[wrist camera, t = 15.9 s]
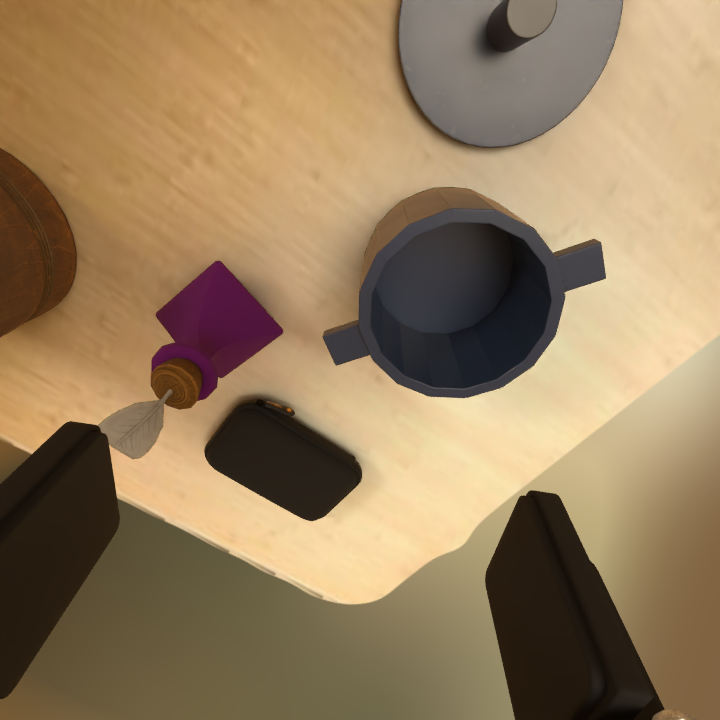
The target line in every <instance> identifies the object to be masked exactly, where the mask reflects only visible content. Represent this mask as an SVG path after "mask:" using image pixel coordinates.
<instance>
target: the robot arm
mask: <svg viewBox="0 0 720 720" xmlns="http://www.w3.org/2000/svg"><path fill="white" fill-rule="evenodd" d="M119 520H120V516H119V509H118V502H117V496H116V489H115V482H114V476H113V469H112V463H111V456H110V449H109V443H108V437H107V435H106V434H105V433H102V432H101V429H100V427H99V426H97V425H92V424H85V423H79V422H72V421H70V422H67V423H65V424H64V425H63V426H62V427H60V428H59V429H58V430H57V431H56V432H55V433H54V434H53V435H52V436H51V437H50V438H49V439H48V440H47V441H46V442H45V443H44V444H42V445H41V446H40V447H39V448H38V449H37V450H36V451H35V452H34V453H33V454H32V455H31V456H30V457H29V458H28V459H27V460H26V461H25V462H23V463H22V464H21V465H20V466H19V467H18V468H17V469H16V470H15V471H14V472H13V473H12V474H11V475H10V476H9V477H8V478H7V479H5V481H3V482H2V483H1V484H0V699H4V698H5V697H7V696H8V695H9V694H10V693H11V692H12V691H13V689H14V688H15V687H16V685H17V684H18V682H19V681H20V679H21V677H22V676H23V674H24V673H25V671H26V670H27V668H28V667H29V665H30V664H31V662H32V661H33V659H34V657H35V656H36V654H37V653H38V651H39V650H40V648H41V647H42V645H43V644H44V642H45V641H46V639H47V638H48V636H49V635H50V633H51V631H52V630H53V628H54V627H55V625H56V624H57V622H58V621H59V619H60V618H61V616H62V615H63V613H64V612H65V610H66V608H67V607H68V605H69V604H70V602H71V601H72V599H73V598H74V596H75V595H76V593H77V591H78V590H79V589H80V587H81V585H82V584H83V582H84V581H85V579H86V578H87V576H88V575H89V573H90V572H91V570H92V569H93V567H94V565H95V564H96V562H97V561H98V559H99V558H100V556H101V555H102V553H103V551H104V550H105V549H106V547H107V546H108V544H109V542H110V541H111V539H112V537H113V536H114V535H115V533H116V531H117V529H118V525H119ZM485 582H486V590H487V594H488V599H489V603H490V608H491V612H492V617H493V621H494V626H495V630H496V634H497V640H498V644H499V649H500V653H501V658H502V662H503V667H504V671H505V676H506V680H507V685H508V689H509V694H510V698H511V703H512V707H513V712H514V716H515V720H697V719H695V718H694V717H692V716H691V715H688V714H685V713H682V712H680V711H677V710H664V707H663V705H662V703H661V701H660V699H659V697H658V695H657V693H656V691H655V689H654V687H653V684H652V683H651V680H650V678H649V676H648V674H647V672H646V670H645V668H644V666H643V664H642V661H641V660H640V657H639V655H638V653H637V651H636V649H635V647H634V645H633V643H632V641H631V639H630V637H629V635H628V632H627V630H626V628H625V626H624V624H623V622H622V620H621V618H620V616H619V614H618V611H617V609H616V607H615V605H614V603H613V601H612V599H611V597H610V595H609V593H608V591H607V588H606V586H605V584H604V582H603V580H602V578H601V576H600V574H599V572H598V570H597V569H596V567H595V565H594V564H593V563H592V562H591V561H590V560H589V558H588V556H587V554H586V552H585V549H584V547H583V545H582V543H581V541H580V539H579V537H578V535H577V533H576V531H575V528H574V526H573V524H572V522H571V520H570V518H569V515H568V513H567V511H566V509H565V507H564V505H563V503H562V501H561V499H560V497H559V496H558V495H556V494H553V493H546V492H540V491H529V492H528V493H527V495H526V496H520V497H519V499H518V501H517V503H516V505H515V508H514V510H513V512H512V514H511V517H510V519H509V522H508V524H507V526H506V528H505V530H504V533H503V535H502V537H501V539H500V541H499V544H498V546H497V548H496V550H495V553H494V555H493V557H492V560H491V561H490V564H489V566H488V568H487V571H486V577H485Z"/></svg>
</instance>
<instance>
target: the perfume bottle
mask: <svg viewBox="0 0 720 720" xmlns="http://www.w3.org/2000/svg"><path fill="white" fill-rule="evenodd" d="M156 317H157V319H158V320H159V321H160V322H161V324H162V325H163V326H164V328H165V329H166V330H167V331H168V333H169V334H170V335H171V337H172V338H173V339H174V341H175V343H171V344H168V345H164V346H162V347H161V348H160V349H159V350H158V352H157V353H156V354H155V355H154V356H153V358H152V371H151V387H152V389H153V390H154V392H155V394H156V396H157V397H158V398H159V399H160V400H156V401H148V402H139V403H135V404H132V405H130V406H128V407H126V408H123V409H121V410H119V411H117V412H115V413H114V414H112V415H110V416H109V417H107V418H106V419H105V420H103V421H102V422H101V423H100V424H99V425H98V426H99V427H100V429H101V432H102V433H105V434H106V435H107V437H108V443H109V445H110V446H111V447H113V448H115V449H116V450H118V451H120V452H121V453H123V454H125V455H126V456H128V457H130V458H131V459H138V458H141V457H142V456H143V455H145V454H146V453H147V452H148V451H149V450H150V449H151V447H152V446H153V445H154V443H155V442H156V440H157V438H158V436H159V433H160V431H161V429H162V427H163V414H164V403H165V404H166V405H167V406H170V407H173V408H176V409H179V410H180V409H187V408H191V407H192V406H193V405H194V404H195V403H196V402H197V401H199V400H203V399H206V398H207V397H208V396H209V395H210V394H211V393H212V392H213V391H214V390H215V389H216V388H217V382H218V377H219V378H223V377H224V376H226V375H227V374H229V373H230V372H231V371H233V370H234V369H235V368H237V367H238V366H239V365H241V364H242V363H243V362H245V361H246V360H248V359H249V358H250V357H252V356H253V355H254V354H256V353H257V352H258V351H260V350H261V349H262V348H264V347H265V346H267V345H268V344H269V343H271V342H272V341H273V340H275V339H276V338H277V337H279V336H280V335H282V334H283V329H282V328H281V327H280V326H279V325H278V323H277V322H276V321H275V320H274V319H273V318H272V317H271V316H270V315H269V314H268V313H267V311H266V310H265V309H264V308H263V307H262V306H261V305H260V304H259V303H258V302H257V300H256V299H255V298H254V297H253V296H252V295H251V294H250V293H249V292H248V291H247V290H246V288H245V287H244V286H243V285H242V284H241V283H240V282H239V281H238V280H237V279H236V278H235V276H234V275H233V274H232V273H231V272H230V271H229V270H228V269H227V268H226V267H225V265H224V264H223V263H222V262H220V261H215V262H214V263H213V264H212V265H211V266H210V267H208V268H207V269H206V270H205V271H204V272H203V273H202V274H200V275H199V276H198V277H197V278H196V279H195V280H193V281H192V282H191V283H190V284H189V285H188V286H187V287H185V288H184V289H183V290H182V291H181V292H180V293H178V294H177V295H176V296H175V297H174V298H173V299H171V300H170V301H169V302H168V303H167V304H166V305H165V306H163V307H162V308H161V309H160V310H159V311H158V312H156Z"/></svg>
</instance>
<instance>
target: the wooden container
mask: <svg viewBox="0 0 720 720" xmlns="http://www.w3.org/2000/svg"><path fill="white" fill-rule="evenodd" d="M75 266H76V252H75V245H74V240H73V236H72V233H71V230H70V227H69V225H68V222H67V220H66V218H65V216H64V214H63V212H62V210H61V209H60V207H59V205H58V204H57V202H56V201H55V199H54V198H53V196H52V195H51V194H50V192H49V191H48V190H47V188H46V187H45V186H44V185H43V184H42V182H41V181H40V180H39V179H38V178H37V177H36V176H35V175H34V174H33V173H32V172H31V171H30V170H29V169H28V168H26V167H25V166H24V165H23V164H21V163H20V162H19V161H18V160H16V159H15V158H14V157H12V156H11V155H9V154H8V153H6V152H5V151H3V150H1V149H0V337H2V336H3V335H5V334H7V333H9V332H11V331H12V330H14V329H16V328H17V327H19V326H21V325H22V324H24V323H26V322H28V321H30V320H32V319H34V318H36V317H37V316H39V315H41V314H43V313H45V312H46V311H48V310H49V309H51V308H52V307H54V306H55V305H57V304H58V303H59V302H60V301H61V300H62V299H63V297H64V296H65V295H66V294H67V292H68V290H69V289H70V286H71V284H72V281H73V277H74V273H75Z"/></svg>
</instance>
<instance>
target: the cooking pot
mask: <svg viewBox="0 0 720 720" xmlns="http://www.w3.org/2000/svg"><path fill="white" fill-rule="evenodd" d="M603 279H606V274H605V267H604V260H603V252H602V245H601V242H599V241H598V240H596V239H592V240H589V241H586V242H583V243H580V244H577V245H574V246H571V247H569V248H566V249H563V250H560V251H557V252H554V253H552V251H551V250H550V249H549V247H548V246H547V245H546V243H545V242H544V241H543V239H542V238H541V237H540V235H539V234H538V233H537V232H536V230H535V229H534V228H533V227H531V226H530V225H528V224H527V223H526V222H524V221H523V220H521V219H520V218H518V217H517V216H516V215H514V214H513V213H511V212H510V211H509V210H507V209H506V208H504V207H503V206H501V205H500V204H499V203H497V202H495V201H493V200H491V199H489V198H487V197H485V196H483V195H481V194H479V193H477V192H475V191H473V190H471V189H466V188H454V187H443V188H432V189H429V190H426V191H423V192H420V193H417V194H415V195H413V196H411V197H408V198H407V199H405V200H403V201H401V202H400V203H399V204H398V205H396V206H395V207H394V208H393V209H392V210H390V211H389V213H388V214H387V215H386V216H385V217H384V218H383V219H382V220H381V221H380V222H379V223H378V225H377V227H376V229H375V231H374V233H373V235H372V237H371V239H370V242H369V245H368V247H367V249H366V251H365V255H364V262H363V269H362V276H361V283H360V290H359V319H358V320H355V321H352V322H349V323H347V324H344V325H341V326H338V327H335V328H332V329H329V330H326V331H324V333H323V339H324V342H325V344H326V346H327V348H328V350H329V352H330V354H331V357H332V359H333V361H334V363H335V365H340V364H343V363H346V362H349V361H352V360H355V359H358V358H362V357H365V356H368V355H370V356H371V358H372V359H373V361H374V362H375V363H376V364H377V365H378V366H379V367H380V368H381V369H382V370H383V371H384V372H386V373H387V374H388V375H389V376H390V377H391V378H392V379H393V380H394V381H395V382H396V383H397V384H399V385H402V386H404V387H407V388H409V389H412V390H414V391H417V392H419V393H422V394H424V395H426V396H430V397H451V398H465V397H466V398H468V397H471V396H475V395H478V394H482V393H485V392H489V391H492V390H496V389H499V388H501V387H503V386H505V385H506V384H508V383H509V382H511V381H512V380H514V379H515V378H517V377H518V376H520V375H521V374H522V373H524V372H525V371H527V370H528V369H530V368H531V367H532V366H534V364H535V363H536V362H537V360H538V359H539V358H540V356H541V355H542V353H543V352H544V351H545V349H546V348H547V347H548V345H549V344H550V342H551V341H552V340H553V338H554V337H555V335H556V332H557V328H558V324H559V320H560V316H561V312H562V308H563V304H564V300H565V294H564V292H566V291H569V290H572V289H575V288H578V287H581V286H585V285H588V284H591V283H594V282H597V281H600V280H603Z"/></svg>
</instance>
